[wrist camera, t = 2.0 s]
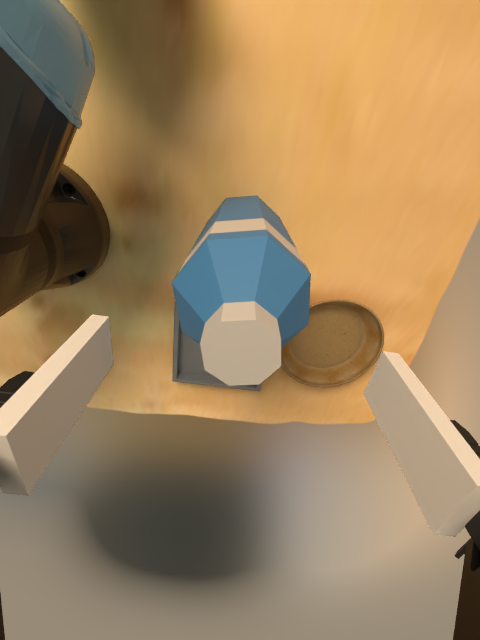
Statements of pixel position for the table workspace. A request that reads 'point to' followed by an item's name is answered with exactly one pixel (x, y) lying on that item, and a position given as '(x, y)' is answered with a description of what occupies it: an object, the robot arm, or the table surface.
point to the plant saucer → (334, 344)
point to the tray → (194, 361)
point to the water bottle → (243, 292)
